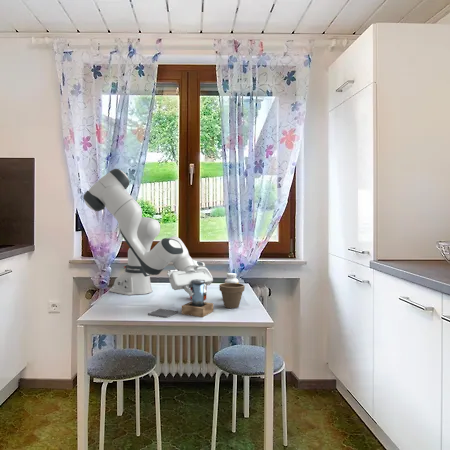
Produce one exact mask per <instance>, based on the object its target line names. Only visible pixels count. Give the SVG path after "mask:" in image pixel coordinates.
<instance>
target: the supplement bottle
mask: <svg viewBox="0 0 450 450" xmlns="http://www.w3.org/2000/svg"><path fill="white" fill-rule="evenodd" d="M237 276H238V275H237V273H235V272H227V273H226V277H227V278H226V279H224V283H239V279H238V278H237ZM239 284H240V283H239Z"/></svg>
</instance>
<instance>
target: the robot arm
mask: <svg viewBox="0 0 450 450" xmlns="http://www.w3.org/2000/svg"><path fill="white" fill-rule="evenodd" d="M130 182H131V181H130V180H129V177H128V175H127V173H126V172H124V171H123V170H121V169H120V168H113V169H111V170H110V171H109V172H108V173H106V174H105V175H103V176H102V177H100V178H99V179H98V180H97V182H95V183H94V184H93V185H92V186H91V187H90V188H89V189H88V190H86V192H84V194H83V199H84V203H85V205H86V206H87V207H88V208H89V209H90V210H93V211H94V212H101V211H103V210H105V208H106V209H107V210H108V211H109V213H110V214H111V215H112V216H113V217H114V218H115V220H116V221H117V223H118V225H117V230H118V232H119V234H120V235H121V236H122V238H123V240H124V241H125V243H126V244H127V245H128V250H127V264H126V265H123V266H122V267H123V269H125V270H124V271H123V273H122V274H120V275H119V276H117V277H116V278H115V279H114V283H113V287H110V288H109V289H108V291H109V292H112V293H116V294H121V295H125V296H131V295H145V294H150V293H152V292H153V288H152V283H151V277H150V276H158V275H159V274H161V273H162V271H163V270H164V269H165V268H166V267H167V266H168V265H169V264H170V263H172V265H173V268H174V269H169V270H168V271H167V272H166V276H167V277H168V279H169V284H170V286H171V288H172V290H174V291H180V290H184V291H185V292H186V293H187V294H188V296H189V298H190V297H191V296H194V295H195V293H194V291H191V290H190V288H192V283H191V280H195V279H202V280H205V283H204V294H206V295H207V291H206V286H207V287H208V286H210V285H212V283H213V281H214V278H213V277H214V276H213V275H212V273H211V272H210V271H209V269H208V268H207V267H206V264H205V262H204V261H203V262H202V261H199V260H195V259H193V258H192V257H191V256H190V253H189V250H188V248H187V247H186V245H185V243H184V242H183V241H182V239H181V238H179V236H170V237H166V238H162V239H160V240H159V242H157V244H155V246H153V247H152V245H153V242H154V240H155V238H157V237H158V236H159V234H160V232H161V223H160V222H159V221H158V220H157V219H155V218H152V217H145V216H143V210H142V207H141V205H140V203H139V202H137V201H136V200H135V198H134V197H133V196H132V195H131V194H130V193H128V191H126V190H127V188H128V187H129V186H130ZM151 248H152V249H151Z"/></svg>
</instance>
